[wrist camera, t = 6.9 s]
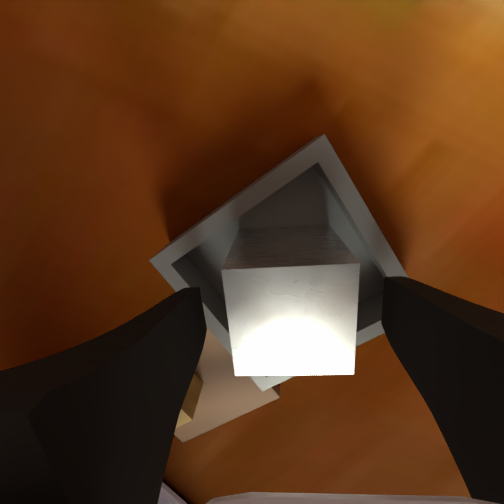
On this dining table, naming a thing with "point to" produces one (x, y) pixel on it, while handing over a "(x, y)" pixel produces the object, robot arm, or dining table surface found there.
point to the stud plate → (218, 393)
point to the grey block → (291, 301)
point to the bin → (281, 215)
